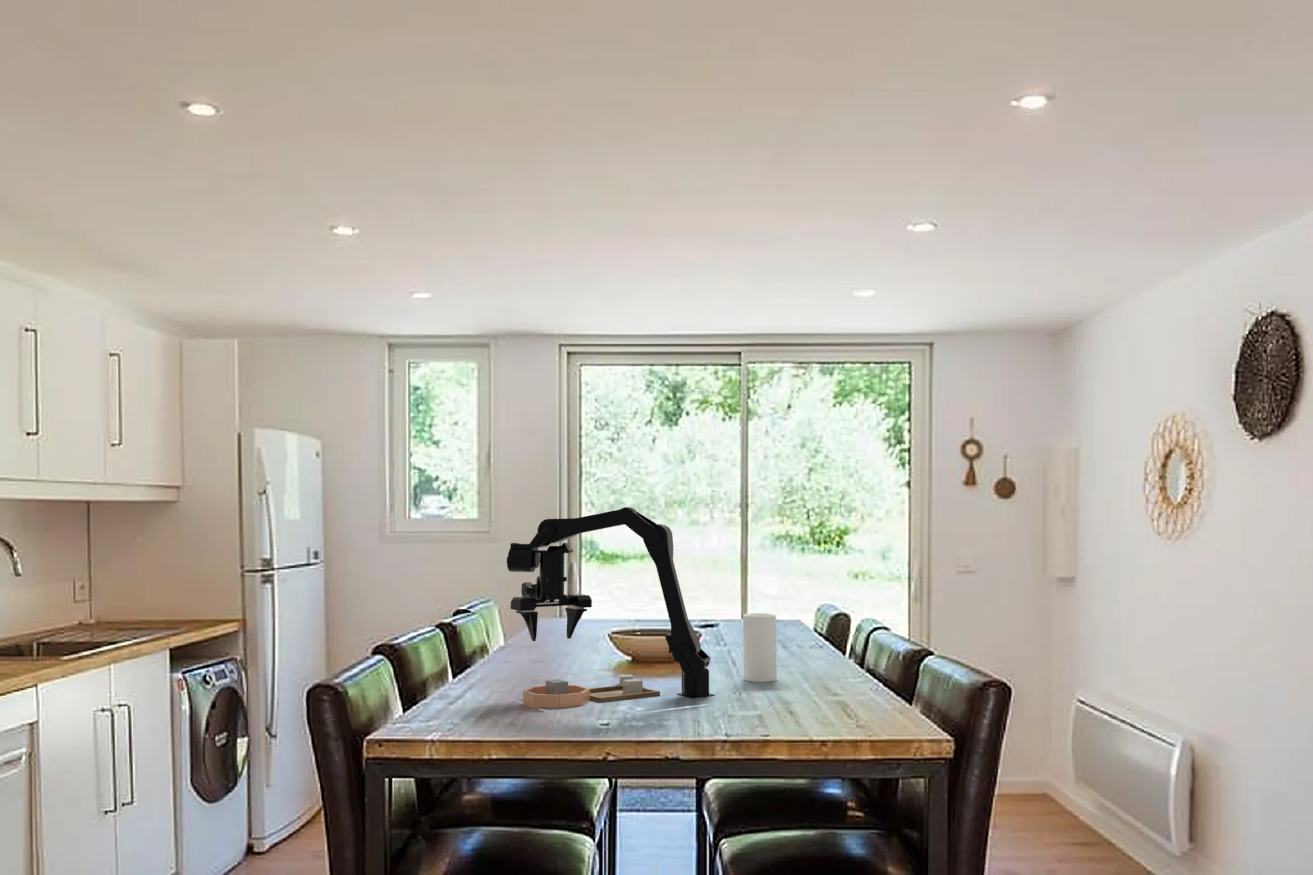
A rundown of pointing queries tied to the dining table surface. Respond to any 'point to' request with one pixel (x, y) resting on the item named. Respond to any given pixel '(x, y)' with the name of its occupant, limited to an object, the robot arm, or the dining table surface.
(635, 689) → the grey small block
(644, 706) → the dining table surface
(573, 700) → the dish
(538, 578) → the robot arm
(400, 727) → the dining table surface
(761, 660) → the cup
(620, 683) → the pale green block
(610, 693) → the tray
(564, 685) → the grey block
